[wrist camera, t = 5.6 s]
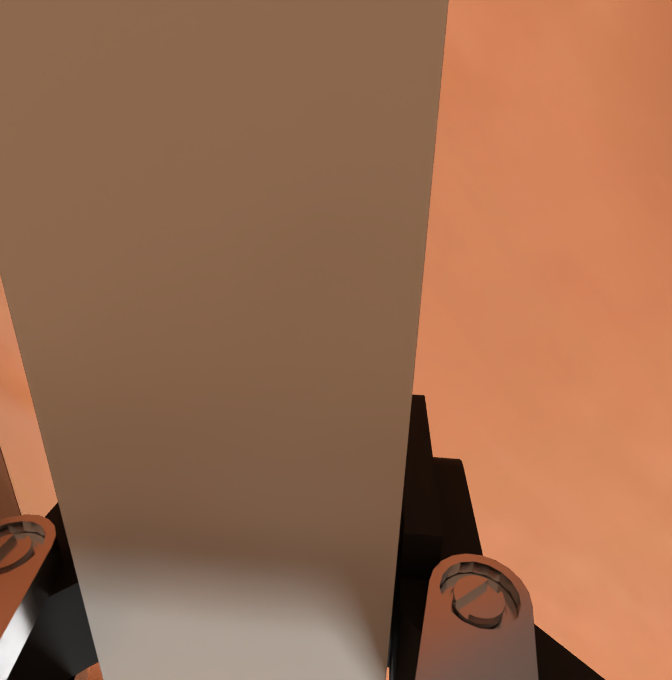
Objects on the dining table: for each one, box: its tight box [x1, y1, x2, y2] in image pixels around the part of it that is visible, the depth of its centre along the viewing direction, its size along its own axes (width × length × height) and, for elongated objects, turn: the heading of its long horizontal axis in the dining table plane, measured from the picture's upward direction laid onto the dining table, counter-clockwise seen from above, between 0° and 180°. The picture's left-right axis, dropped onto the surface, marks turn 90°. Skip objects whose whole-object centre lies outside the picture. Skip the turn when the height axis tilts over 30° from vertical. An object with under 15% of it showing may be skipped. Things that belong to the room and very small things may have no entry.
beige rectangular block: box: [0, 0, 449, 680], centre depth 9 cm, size 4×16×6 cm, turn 179°
